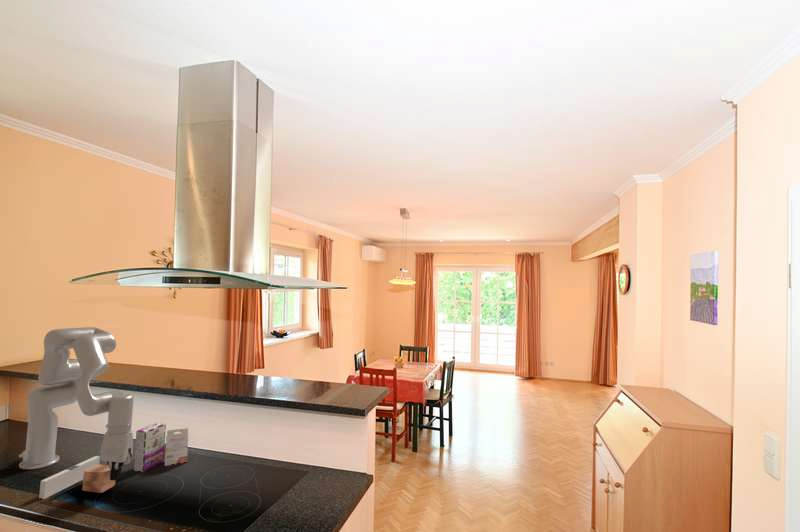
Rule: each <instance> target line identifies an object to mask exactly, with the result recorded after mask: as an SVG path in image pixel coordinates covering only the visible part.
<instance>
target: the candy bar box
mask: <svg viewBox="0 0 800 532" xmlns="http://www.w3.org/2000/svg"><path fill="white" fill-rule="evenodd" d="M166 426H167V424H166V423H165V422H155V423H153V424H150V425H147V426H145V427H143V428H140V429H137V430H136V431H135V434H136V435H135V449H134V463H133V466H134V467H133V471H134V472H138V471H140V472H139V473H144V471H145V472H146V471H148V470H150V469H152V468H155V466H158V465H159V464H161V463H163V462H165V447H166Z"/></svg>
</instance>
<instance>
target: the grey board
mask: <svg viewBox="0 0 800 532" xmlns="http://www.w3.org/2000/svg"><path fill="white" fill-rule="evenodd" d="M100 461H101V459H100V455H97V456H96V455H95V456H92V457H91V458H89V459H86V460H84V461H82V462H79V463H78V464H75V465H74V464H73V465H71V466H70V467H68V468H66V469H63V470H62V471H59V472H58V473H55V474H53V475H51V476H49V477H46V478H44V479H42V480H40V484H39V485H40V486H39V494H38V495H39V496H38V498H39V499H40V498H41V499H43V500H45V499H47V498H49V497H51V496H53V495H55V494H58V493H59V492H61V491H63V490H65V489H67V488H69V487H71V486H73V485H75V484H77V483H78V482H82V481H83V476H84V471H85V470H87V469H90V468H92V467H94V466H96V465H98V464H99V465H100ZM41 499H40V500H41Z"/></svg>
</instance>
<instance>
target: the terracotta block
mask: <svg viewBox="0 0 800 532" xmlns="http://www.w3.org/2000/svg"><path fill="white" fill-rule="evenodd" d="M110 471H111V469H109V465H108V464H107V465H106V464H100V463H99V464H98V465H96V466H94V467H92V468H90V469H87V470H85V471H84V476H83V480H82V491H84V492H89V493H90V492H91V493H98V494H99V493H101V494H102V493H104V492H106V491H107V490H109V489H111V488H113V487H115V486H116V480H114V481H113V480H110ZM114 485H115V486H114Z"/></svg>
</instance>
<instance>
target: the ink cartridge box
mask: <svg viewBox="0 0 800 532" xmlns="http://www.w3.org/2000/svg"><path fill="white" fill-rule="evenodd" d="M188 445H189V428H188V427H187V428H178V429H168V430H167V431H166V436H165V448H164V466H165V467H167V466H173V465H172V464H174V465H178V464H177V463H181V464H184V463H183V462H187V461H188V452H189V451H188V449H189V446H188Z"/></svg>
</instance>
